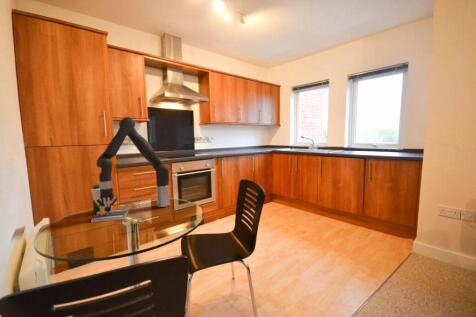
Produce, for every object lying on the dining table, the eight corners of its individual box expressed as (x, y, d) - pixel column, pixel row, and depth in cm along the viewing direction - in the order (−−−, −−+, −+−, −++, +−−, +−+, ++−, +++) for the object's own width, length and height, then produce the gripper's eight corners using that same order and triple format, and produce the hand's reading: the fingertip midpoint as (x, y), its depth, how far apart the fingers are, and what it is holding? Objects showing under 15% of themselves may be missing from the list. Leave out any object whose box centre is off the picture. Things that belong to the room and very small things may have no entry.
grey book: (127, 210, 156) (127, 208, 156) (123, 217, 144) (123, 214, 144) (97, 213, 151) (97, 211, 151) (91, 220, 139) (91, 218, 138)
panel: (128, 212, 157) (128, 210, 157) (125, 219, 145) (125, 216, 144) (97, 215, 151) (97, 213, 151) (91, 222, 139) (90, 220, 138)
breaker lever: (106, 214, 148) (106, 205, 147) (105, 215, 145) (104, 206, 144) (99, 214, 147) (98, 205, 146) (98, 216, 144) (97, 207, 143)
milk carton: (99, 209, 162) (97, 184, 159) (111, 209, 161) (109, 184, 159) (91, 214, 153) (88, 187, 150) (103, 214, 153) (101, 187, 150)
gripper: (118, 185, 150) (120, 208, 152) (96, 186, 146) (99, 210, 148) (115, 187, 143) (117, 212, 145) (93, 189, 139) (95, 214, 141)
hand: (108, 211), depth 147 cm, fingers closed
